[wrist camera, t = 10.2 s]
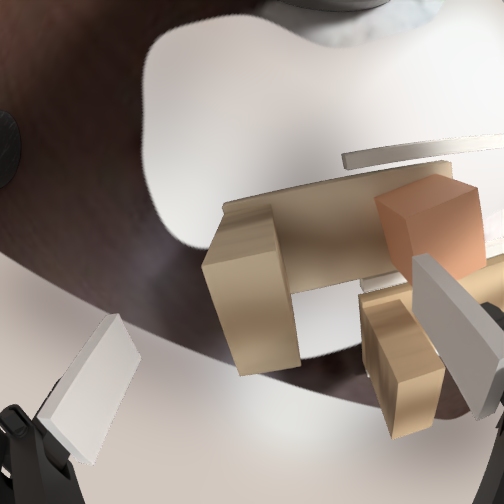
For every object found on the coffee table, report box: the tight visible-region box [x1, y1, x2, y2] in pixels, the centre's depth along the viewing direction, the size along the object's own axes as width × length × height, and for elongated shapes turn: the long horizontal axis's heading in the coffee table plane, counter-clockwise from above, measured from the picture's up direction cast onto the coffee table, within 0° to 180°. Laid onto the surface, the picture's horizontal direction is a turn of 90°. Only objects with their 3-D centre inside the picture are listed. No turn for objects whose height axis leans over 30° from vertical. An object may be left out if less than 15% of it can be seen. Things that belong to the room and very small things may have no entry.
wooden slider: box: [201, 160, 453, 376], centre depth 17 cm, size 7×16×9 cm, turn 104°
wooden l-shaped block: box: [358, 254, 504, 439], centre depth 19 cm, size 7×16×9 cm, turn 104°
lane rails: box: [342, 134, 504, 377], centre depth 22 cm, size 19×18×1 cm
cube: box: [374, 173, 486, 286], centre depth 17 cm, size 5×5×5 cm
